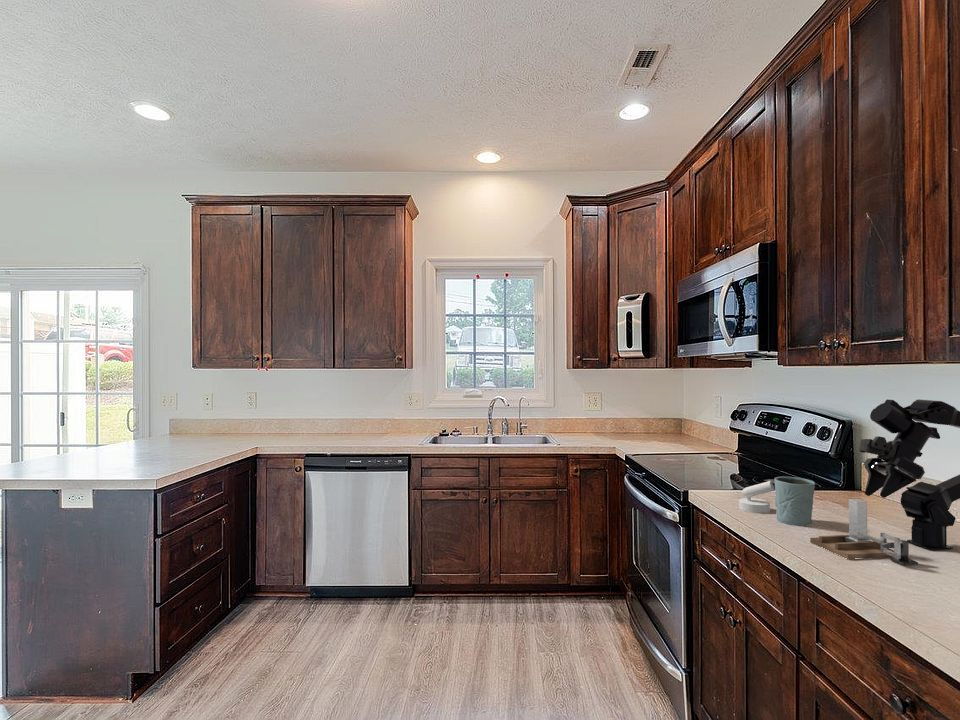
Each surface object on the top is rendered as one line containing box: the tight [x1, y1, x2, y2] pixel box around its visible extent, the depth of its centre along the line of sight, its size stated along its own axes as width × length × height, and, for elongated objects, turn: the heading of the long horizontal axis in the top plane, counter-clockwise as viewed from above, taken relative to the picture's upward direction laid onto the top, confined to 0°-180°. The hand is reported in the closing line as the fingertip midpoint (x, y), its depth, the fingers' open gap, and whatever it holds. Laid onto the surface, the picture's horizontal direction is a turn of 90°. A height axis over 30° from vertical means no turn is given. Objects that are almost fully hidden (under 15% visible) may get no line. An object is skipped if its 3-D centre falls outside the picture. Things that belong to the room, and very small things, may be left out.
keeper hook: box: [882, 539, 919, 567], centre depth 122 cm, size 7×4×5 cm, turn 96°
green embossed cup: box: [774, 476, 816, 527], centre depth 154 cm, size 10×10×12 cm
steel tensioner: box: [845, 498, 901, 559], centre depth 126 cm, size 4×13×10 cm, turn 6°
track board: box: [809, 534, 894, 560], centre depth 131 cm, size 13×12×3 cm
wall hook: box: [738, 480, 776, 514], centre depth 166 cm, size 9×10×10 cm
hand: (874, 495), depth 133 cm, fingers open, 9 cm apart
